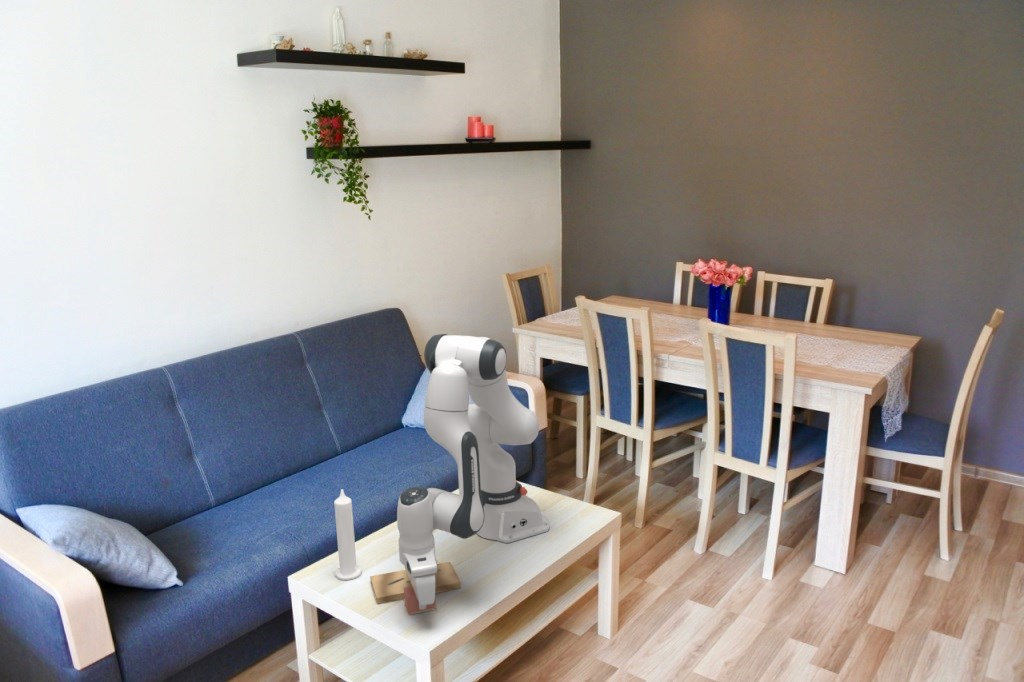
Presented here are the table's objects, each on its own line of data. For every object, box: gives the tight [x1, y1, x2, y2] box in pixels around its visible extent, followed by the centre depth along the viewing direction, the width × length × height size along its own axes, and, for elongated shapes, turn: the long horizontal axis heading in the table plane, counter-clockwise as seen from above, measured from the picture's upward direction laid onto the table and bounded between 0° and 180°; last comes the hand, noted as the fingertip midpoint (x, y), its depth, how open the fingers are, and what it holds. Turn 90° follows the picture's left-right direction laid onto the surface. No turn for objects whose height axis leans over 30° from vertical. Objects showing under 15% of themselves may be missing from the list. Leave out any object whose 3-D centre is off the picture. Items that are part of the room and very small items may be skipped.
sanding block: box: [403, 586, 437, 616], centre depth 205 cm, size 7×4×5 cm, turn 108°
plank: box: [369, 561, 462, 605], centre depth 215 cm, size 22×11×2 cm, turn 108°
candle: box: [333, 488, 363, 581], centre depth 218 cm, size 7×7×25 cm
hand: (419, 601), depth 205 cm, fingers closed on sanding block, 4 cm apart
